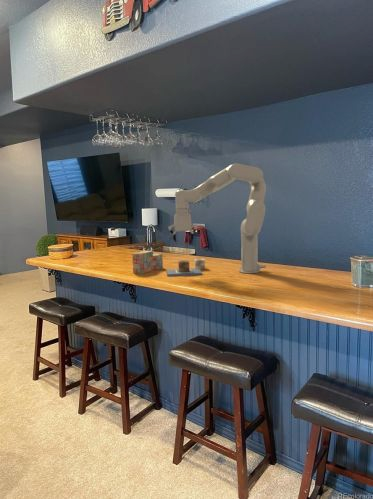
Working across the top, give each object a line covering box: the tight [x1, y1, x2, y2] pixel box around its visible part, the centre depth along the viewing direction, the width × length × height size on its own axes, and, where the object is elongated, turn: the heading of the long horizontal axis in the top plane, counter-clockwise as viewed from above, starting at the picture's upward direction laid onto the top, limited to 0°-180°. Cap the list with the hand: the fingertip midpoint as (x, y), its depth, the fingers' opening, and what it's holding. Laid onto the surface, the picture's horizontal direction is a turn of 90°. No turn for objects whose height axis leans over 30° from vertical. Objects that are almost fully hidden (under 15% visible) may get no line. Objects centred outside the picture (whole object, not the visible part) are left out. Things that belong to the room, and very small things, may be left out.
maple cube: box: [193, 258, 206, 271], centre depth 234 cm, size 6×6×6 cm
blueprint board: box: [166, 268, 203, 277], centre depth 222 cm, size 20×14×1 cm
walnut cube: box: [177, 259, 190, 272], centre depth 221 cm, size 6×6×6 cm
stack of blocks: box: [131, 250, 164, 275], centre depth 233 cm, size 21×6×12 cm, turn 145°
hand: (183, 240), depth 219 cm, fingers open, 9 cm apart
